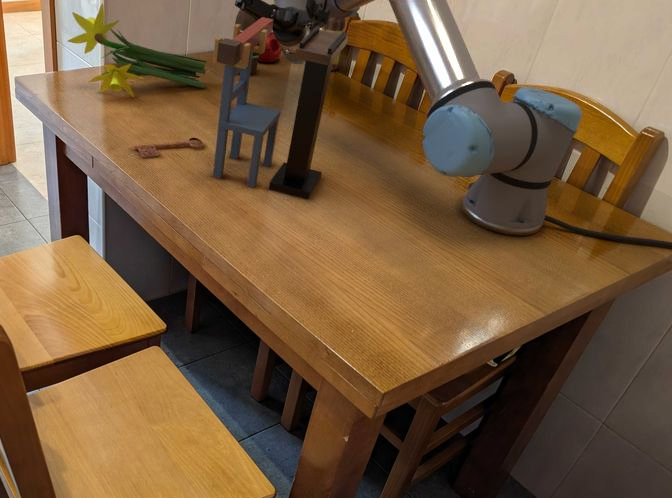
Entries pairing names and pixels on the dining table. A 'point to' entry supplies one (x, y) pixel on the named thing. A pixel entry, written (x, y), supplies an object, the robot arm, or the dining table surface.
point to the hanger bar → (242, 42)
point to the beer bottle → (245, 22)
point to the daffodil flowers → (135, 58)
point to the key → (153, 146)
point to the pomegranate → (270, 50)
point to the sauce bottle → (336, 27)
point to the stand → (308, 112)
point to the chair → (243, 113)
